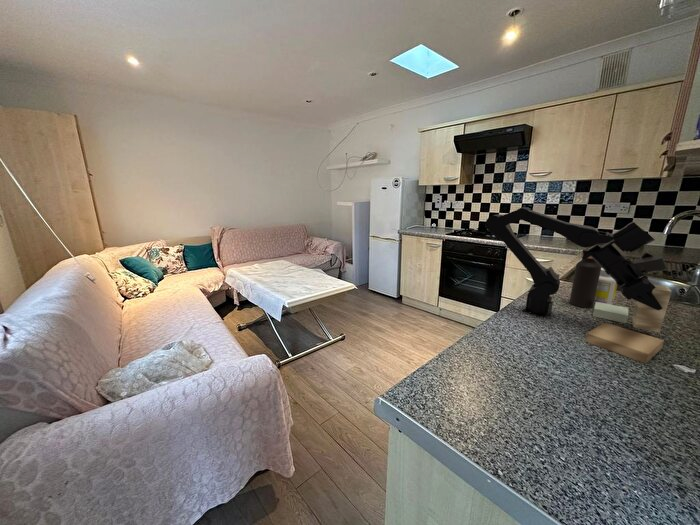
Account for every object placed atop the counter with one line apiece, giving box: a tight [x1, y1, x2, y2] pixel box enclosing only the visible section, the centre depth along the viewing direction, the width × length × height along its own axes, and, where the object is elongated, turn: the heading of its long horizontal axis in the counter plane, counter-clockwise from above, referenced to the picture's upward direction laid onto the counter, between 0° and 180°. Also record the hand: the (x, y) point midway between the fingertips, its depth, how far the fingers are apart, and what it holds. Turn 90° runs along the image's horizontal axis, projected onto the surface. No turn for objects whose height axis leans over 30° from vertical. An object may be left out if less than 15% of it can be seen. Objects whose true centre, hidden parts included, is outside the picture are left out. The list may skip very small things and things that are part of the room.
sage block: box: [592, 302, 629, 324], centre depth 91 cm, size 8×8×3 cm
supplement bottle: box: [594, 267, 618, 305], centre depth 100 cm, size 7×7×13 cm
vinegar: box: [569, 250, 602, 309], centre depth 98 cm, size 7×7×20 cm
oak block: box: [584, 322, 665, 364], centre depth 74 cm, size 12×12×3 cm
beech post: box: [631, 283, 672, 333], centre depth 77 cm, size 5×5×12 cm
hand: (658, 306), depth 76 cm, fingers closed on beech post, 5 cm apart
